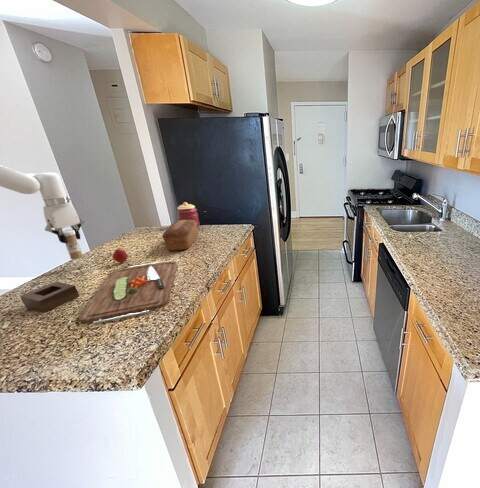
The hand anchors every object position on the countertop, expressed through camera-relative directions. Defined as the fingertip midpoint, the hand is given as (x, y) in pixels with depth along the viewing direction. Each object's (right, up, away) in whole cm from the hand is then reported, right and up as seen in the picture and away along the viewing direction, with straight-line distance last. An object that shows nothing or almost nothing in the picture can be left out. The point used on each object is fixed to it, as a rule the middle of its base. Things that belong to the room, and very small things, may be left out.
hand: (70, 240), depth 120 cm
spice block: (+13, -24, -20) cm, 34 cm away
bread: (+33, -1, +37) cm, 49 cm away
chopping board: (+39, -20, -10) cm, 45 cm away
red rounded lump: (+15, -11, +12) cm, 22 cm away
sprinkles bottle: (0, -8, +3) cm, 9 cm away
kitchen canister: (+21, +11, +66) cm, 70 cm away
